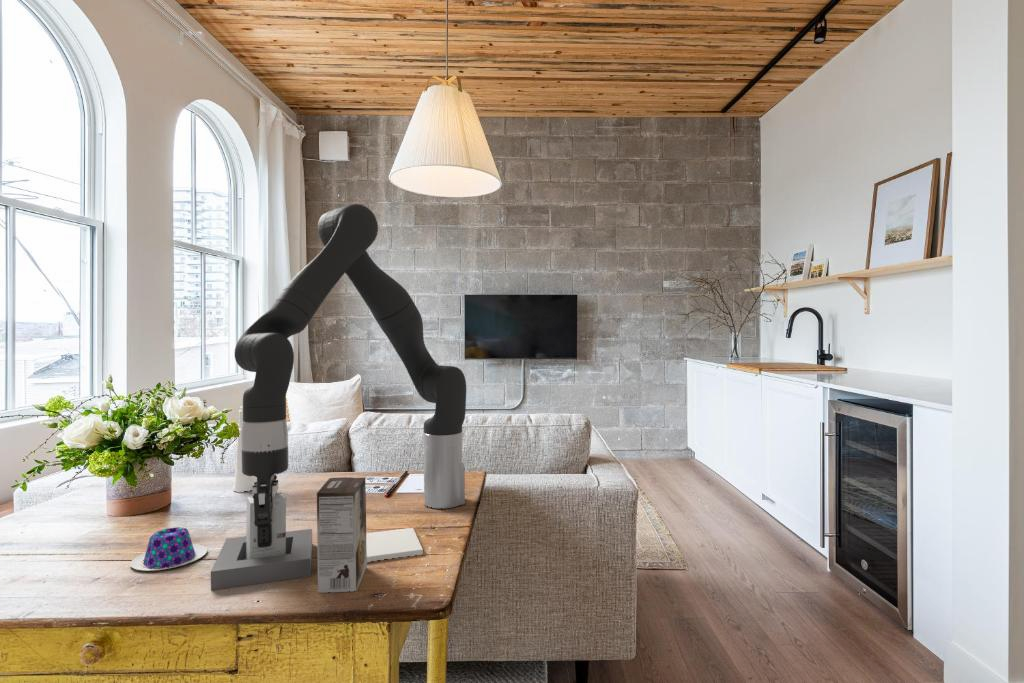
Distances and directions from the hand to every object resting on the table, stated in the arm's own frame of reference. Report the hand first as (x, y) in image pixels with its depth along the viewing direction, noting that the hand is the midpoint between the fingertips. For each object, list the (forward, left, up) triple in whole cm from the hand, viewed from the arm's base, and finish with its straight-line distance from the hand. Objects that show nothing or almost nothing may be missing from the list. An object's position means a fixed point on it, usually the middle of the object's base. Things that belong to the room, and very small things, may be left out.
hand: (266, 540), depth 97 cm
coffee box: (-13, +11, -5) cm, 17 cm away
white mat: (-21, -1, -4) cm, 21 cm away
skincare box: (0, 0, -5) cm, 5 cm away
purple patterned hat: (+17, -9, -5) cm, 20 cm away
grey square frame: (0, 0, -4) cm, 4 cm away
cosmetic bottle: (+10, -54, -5) cm, 55 cm away
